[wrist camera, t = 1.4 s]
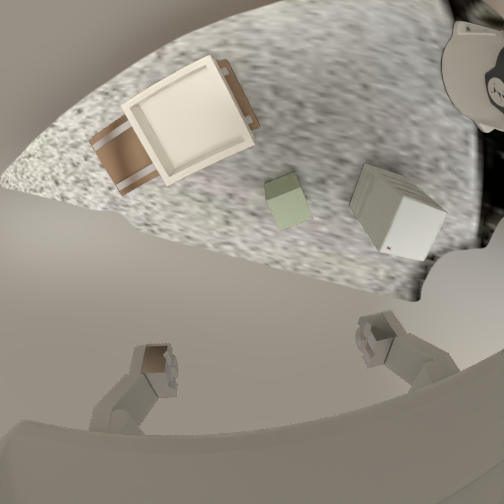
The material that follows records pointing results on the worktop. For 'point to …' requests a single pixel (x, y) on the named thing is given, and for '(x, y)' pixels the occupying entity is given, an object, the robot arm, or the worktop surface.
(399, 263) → the worktop surface
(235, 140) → the square white tray
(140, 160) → the track
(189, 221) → the worktop surface
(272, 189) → the block
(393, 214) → the supplement box
